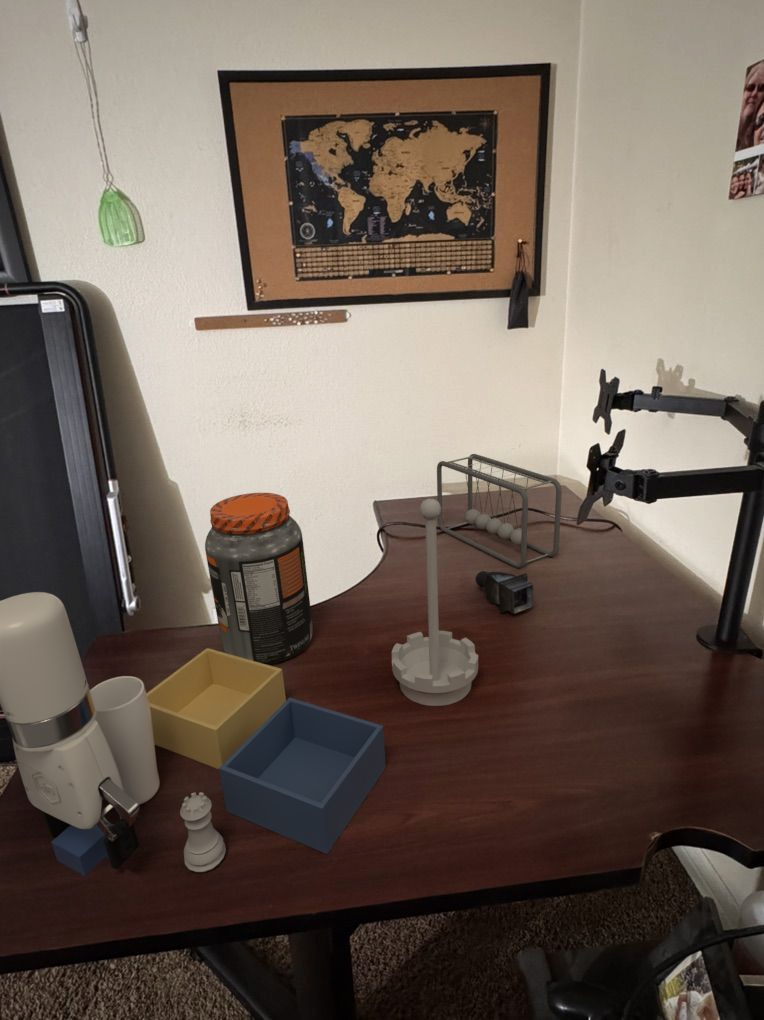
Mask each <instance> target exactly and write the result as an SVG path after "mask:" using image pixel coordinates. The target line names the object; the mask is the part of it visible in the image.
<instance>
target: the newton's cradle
mask: <svg viewBox="0 0 764 1020" xmlns="http://www.w3.org/2000/svg"><path fill="white" fill-rule="evenodd" d="M464 460H467V466H466V465H462V464H461V463H460V464H459V463H456V462H459V461H464ZM473 461H475V462H477V463H473ZM479 464H480V467H479V468H478V469H474V468H473V465H479ZM482 464H484V465H487V466H485V467H482ZM488 466H489V468H491V469H490V472H489V473H488V472H487V473H486V472H483V471H481V470H482V469H486V468H488ZM443 467H445V468H447V469H451V470H453V471H456V472H459V473H462V474H464V475H465V479H466V485H467V486H466V487H467V511H466V513H465V514H464V519H465V522H463V523H459V524H456V525H452V526H449V527H446V526H445V525H444V522H443V477H442V474H443V472H442V471H443V470H442V468H443ZM493 468H496V469H499V470H497V471H493ZM492 471H493V472H492ZM501 471H502V473H501V474H502V476H501V477H497V476H494V475H492V474H493V473H497V472H501ZM504 471H505V472H509V473H511V474H508V475H507V477H508V476H509V477H510V476H512V475H514V477H513V478H514V479H513V481H509V480H506V479H503V478H506V475H504ZM517 475H518V476H521V477H524V478H522V479H517V480H516V476H517ZM473 478H475V480H476V492H475V496H477V495H478V499H479V505H480V511H481V513H480V511H479V510H478V509H475V507H476V501H477V497H475V499H474V505H473ZM529 479H531V480H533V481H536V482H539V483H536V484H534V485H533V484H532V485H530V486H528V483H529ZM480 480H481V481H484V482H487V493H486V501H485V506H484V512H483V507H482V502H481V495H480V488H479V482H480ZM522 480H526V485H525V486H523V485H521V484H517V483H515V482H519V481H522ZM490 484H492V485H495V486H497V487H498V490H499V494H498V499H497V504H496V505H497V506H496V512H495V517H494V511H493V504H492V499H491V492H490ZM547 484H552V485H553V486H554V489H555V503H554V504H555V507H554V525H553V527H554V529H553V545H552V547H553V548H552V551H551V550H548V549H546V548H543V547H541V546H539V545H537V544H535V543H532V542H530V541H528V538H529V535H528V523H529V522H528V521H529V519H528V518H529V496H528V494H527V490H529V489H532V488H537V487H540V486H543V485H547ZM436 486H437V487H436V495H437V496H436V498H437V499H436V501H438V502H439V504H440V506H441V512H440V515H439V516H438V517H437V524H438V527H439V529H440V530H441V531H442V532H444V533H446V534H447V535H450V536H452V537H453V538H455V539H458V540H460V541H462V542H464V543H466V544H468V545H469V546H471V547H473V548H476V549H478V550H480V551H481V552H483V553H486V554H488V555H490V556H492V557H494V558H496V559H498V560H500V561H501V562H504V563H506V564H508V565H510V566H511V567H514V568H515V569H519V570H521V569H524V567H525V566H526V565H527V564H528V563H531V562H534V561H537V560H539V559H542V558H545V557H550V558H554V557H556V556H557V555H558V553H559V550H560V533H561V532H560V531H561V515H562V513H561V512H562V495H563V490H562V489H563V488H562V485H561V483H560V481H558V480H557V479H556V478H553V477H550V476H548V475H545V474H541V473H538V472H534V471H531V470H528V469H526V468H521V467H518V466H515V465H512V464H509V463H506V462H503V461H499V460H497V459H494V458H490V457H487V456H483V455H480V454H477V453H472V454H470V455H469V456H466V457H461V458H457V459H454V460H449V461H446V460H441V461H439V462H438V463H437V465H436ZM502 488H503V489H506V490H510V491H511V496H510V501H509V507H508V514H507V518H506V520H505V512H504V506H503V499H502V492H501V490H502ZM513 492H515V493H517V494H519V495H520V496H521V501H522V503H521V504H522V505H521V518H520V519H521V520H520V526H519V525H518V517H517V513H516V512H517V511H516V505H515V500H514V494H513ZM488 496H489V502H490V509H491V515H492V518H491V516H490V515H489V514H487V513H486V510H487V503H488ZM500 501H501V510H502V515H503V522H502V520H500V519H499V518H497V514H498V509H499V503H500ZM512 502H513V509H514V515H515V522H516V528H514V526H513V525H512V524H511V523H508V522H509V518H510V511H511V505H512ZM473 506H474V507H473ZM467 524H469V525H471V526H473V525H476V527H477V528H478V529H480V530H486V531H487V533H489V534H490V535H498V537H499V538H500V539H502V540H504V541H507V540H510V542H511V543H512V544H514V545H515V546H517V547H520V562H517V561H515V560H514V559H511V558H510V557H507V556H505V555H503V554H501V553H500V552H497V551H495V550H493V549H491V548H489V547H487V546H485V545H483V544H482V543H481V544H480V543H479V542H476V541H475V540H472V539H471V538H468V537H467V536H464V535H462V534H460V533H458V532H456V531H454V530H452V529H454V528H458V527H461V526H464V525H467ZM528 548H529V549H530V550H533V551H536V552H538V553H540V554H542V555H540V556H537V557H534V558H531V559H528V560H527V551H528Z"/></svg>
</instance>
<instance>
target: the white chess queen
mask: <svg viewBox="0 0 764 1020" xmlns="http://www.w3.org/2000/svg"><path fill="white" fill-rule="evenodd" d="M190 796H191V797H189V796H185V797H184V799H183V802H182V803H181V805H182V806H181V808H180V809H179V814H180V817H181V818H182V819H183V820H184V826H185V827H186V829H187V840H186V842H185V845H184V848H183V859H184V865H185V867H186V868H187V869H188V870H190V871H193V872H195V873H206V872H210V871H212V870H213V869H215V868H216V867H217V866H218V865H219V864H220V863H221V861H222V860H223V859H224V858H225V855H226V851H227V849H226V844H225V842H224V841H225V840H224V837H223V836H222V835H221V833H220V832H219V831H217V830H216V829H215V828H214V826H213V824H212V821H211V820H212V817H213V816H212V812H211V809H212V806H213V805H212V800H210V798H209V797H208V796H207V795H205V793H204V792H201V791H199V793H198V795H197V792H192V793H190Z"/></svg>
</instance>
